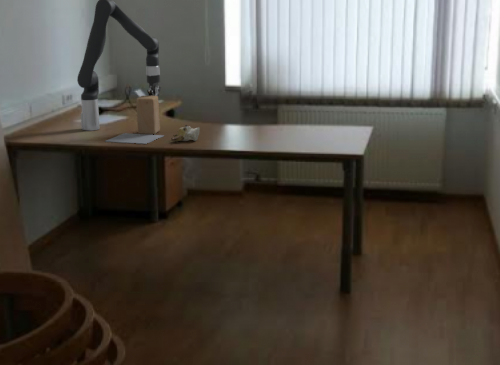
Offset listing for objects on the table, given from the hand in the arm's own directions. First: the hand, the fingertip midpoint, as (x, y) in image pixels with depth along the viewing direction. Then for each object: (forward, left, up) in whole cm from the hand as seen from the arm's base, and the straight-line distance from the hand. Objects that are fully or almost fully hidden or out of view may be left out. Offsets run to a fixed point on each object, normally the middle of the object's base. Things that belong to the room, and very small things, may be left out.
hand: (154, 105), depth 438 cm
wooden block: (0, -8, -14) cm, 17 cm away
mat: (0, -25, -14) cm, 29 cm away
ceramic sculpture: (+28, -22, -15) cm, 39 cm away
